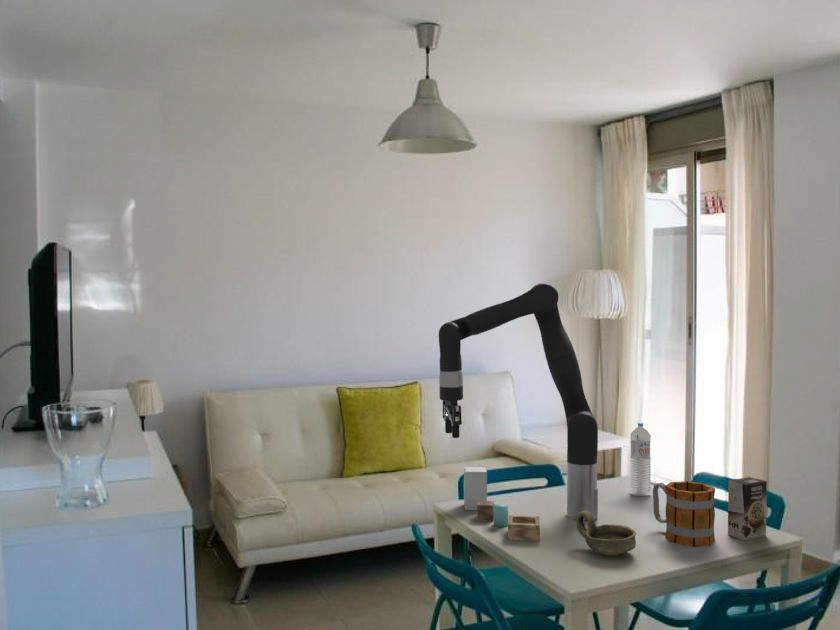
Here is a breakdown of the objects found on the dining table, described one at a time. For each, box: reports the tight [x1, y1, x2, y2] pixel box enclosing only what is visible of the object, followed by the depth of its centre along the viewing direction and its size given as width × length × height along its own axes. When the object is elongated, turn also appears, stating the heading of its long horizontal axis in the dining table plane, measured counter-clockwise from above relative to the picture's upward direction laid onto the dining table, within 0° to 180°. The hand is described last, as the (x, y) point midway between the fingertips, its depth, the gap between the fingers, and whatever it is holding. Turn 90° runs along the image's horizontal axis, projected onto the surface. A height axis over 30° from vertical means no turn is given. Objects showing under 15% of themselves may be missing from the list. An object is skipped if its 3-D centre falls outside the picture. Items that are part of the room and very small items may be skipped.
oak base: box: [507, 514, 541, 542], centre depth 219 cm, size 9×9×4 cm
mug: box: [652, 480, 716, 548], centre depth 218 cm, size 20×14×15 cm
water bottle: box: [629, 422, 652, 497], centre depth 263 cm, size 7×7×25 cm
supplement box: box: [463, 466, 488, 511], centre depth 248 cm, size 7×7×13 cm
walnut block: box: [476, 500, 495, 522], centre depth 236 cm, size 5×5×5 cm
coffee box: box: [727, 476, 768, 541], centre depth 218 cm, size 9×6×16 cm
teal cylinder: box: [493, 503, 509, 528], centre depth 229 cm, size 4×4×6 cm
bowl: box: [575, 510, 637, 556], centre depth 205 cm, size 14×18×10 cm
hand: (452, 435), depth 241 cm, fingers open, 8 cm apart
